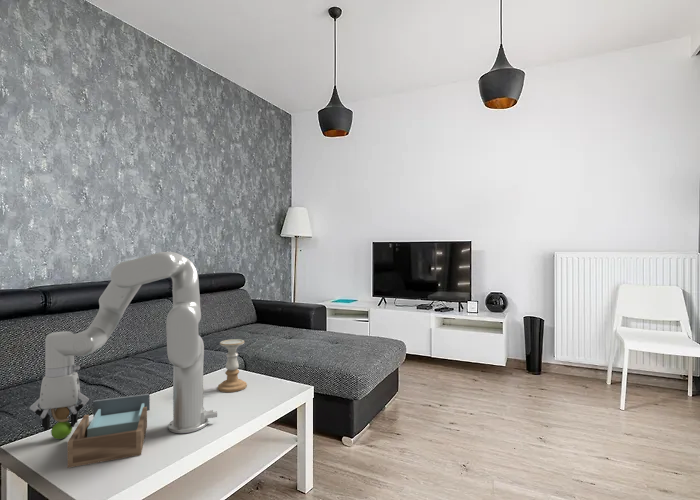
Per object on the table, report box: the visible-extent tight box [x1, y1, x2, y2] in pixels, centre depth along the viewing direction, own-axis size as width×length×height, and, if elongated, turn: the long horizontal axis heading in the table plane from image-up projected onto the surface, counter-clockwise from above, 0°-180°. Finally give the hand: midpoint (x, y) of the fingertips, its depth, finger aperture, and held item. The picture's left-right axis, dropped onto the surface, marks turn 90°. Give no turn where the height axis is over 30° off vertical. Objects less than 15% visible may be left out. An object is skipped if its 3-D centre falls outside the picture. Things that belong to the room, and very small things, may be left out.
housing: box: [67, 407, 148, 469], centre depth 123 cm, size 20×18×7 cm
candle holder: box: [217, 338, 248, 393], centre depth 175 cm, size 12×12×20 cm
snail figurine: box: [50, 407, 73, 440], centre depth 128 cm, size 5×6×12 cm
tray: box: [87, 393, 151, 438], centre depth 136 cm, size 19×18×6 cm
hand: (60, 426), depth 128 cm, fingers open, 6 cm apart
